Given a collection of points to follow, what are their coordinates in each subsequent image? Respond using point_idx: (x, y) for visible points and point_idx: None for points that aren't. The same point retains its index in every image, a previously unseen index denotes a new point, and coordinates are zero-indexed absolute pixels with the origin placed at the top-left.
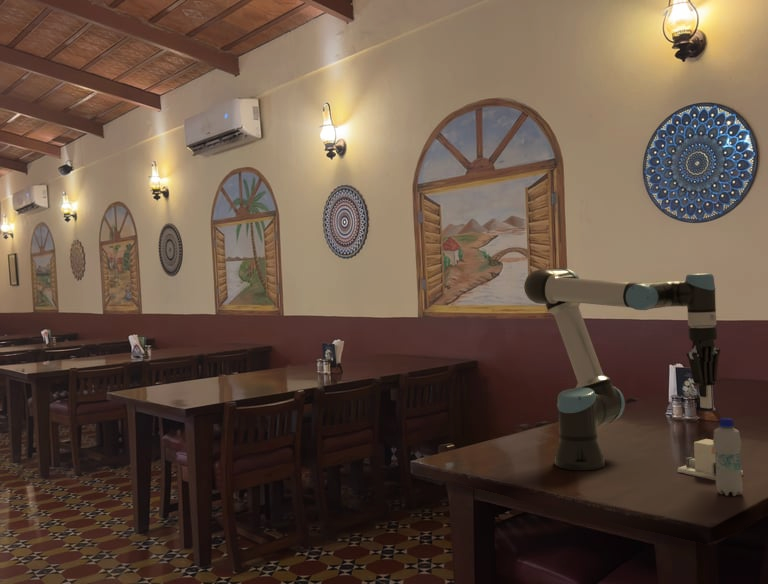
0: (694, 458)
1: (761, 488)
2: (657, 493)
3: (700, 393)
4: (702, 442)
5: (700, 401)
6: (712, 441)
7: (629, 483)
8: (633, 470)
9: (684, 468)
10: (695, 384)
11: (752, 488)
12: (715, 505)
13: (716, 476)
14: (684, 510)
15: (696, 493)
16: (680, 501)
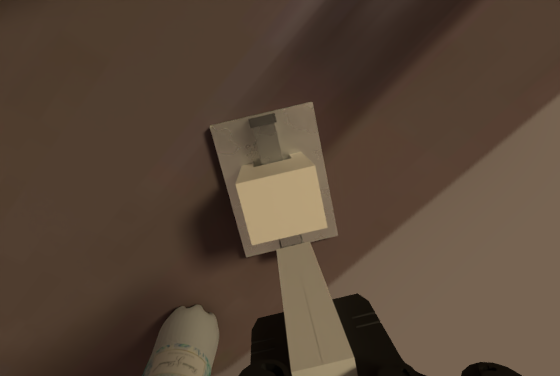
0: (275, 129)
1: None
2: (37, 253)
3: (253, 349)
4: (259, 203)
5: (279, 272)
6: (300, 210)
7: (12, 149)
8: (100, 38)
9: (222, 141)
10: (242, 372)
11: (266, 315)
12: (109, 366)
13: (156, 341)
14: (26, 365)
15: (127, 291)
16: (54, 319)
